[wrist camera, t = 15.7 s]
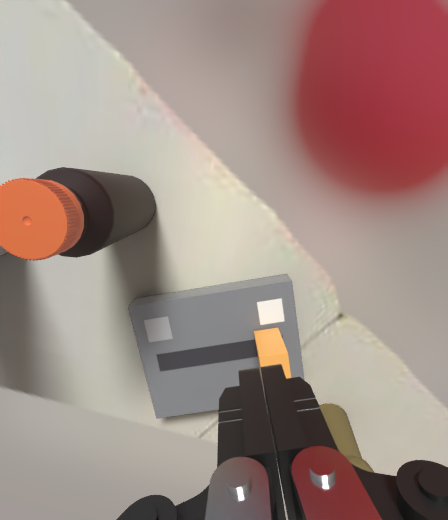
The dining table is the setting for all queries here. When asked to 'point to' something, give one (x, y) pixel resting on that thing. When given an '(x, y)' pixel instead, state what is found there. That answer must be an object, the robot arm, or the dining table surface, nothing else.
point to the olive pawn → (343, 435)
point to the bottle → (71, 212)
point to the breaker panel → (210, 339)
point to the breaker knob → (272, 349)
